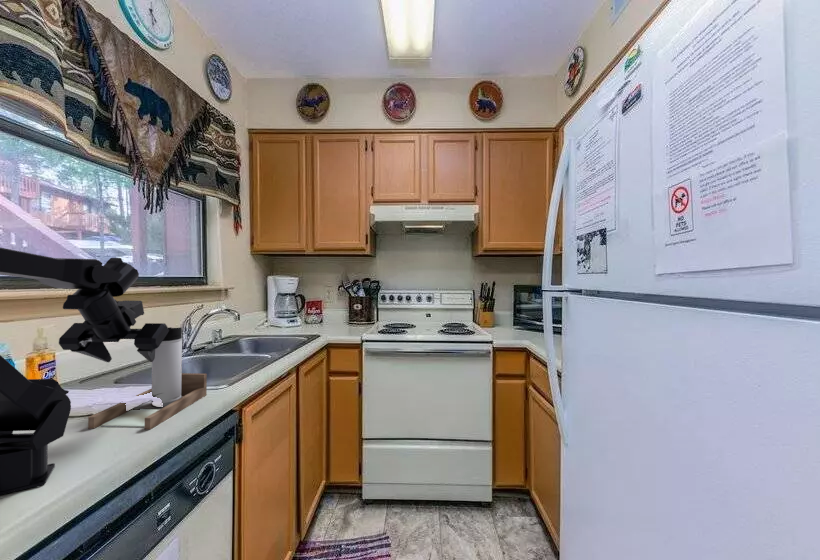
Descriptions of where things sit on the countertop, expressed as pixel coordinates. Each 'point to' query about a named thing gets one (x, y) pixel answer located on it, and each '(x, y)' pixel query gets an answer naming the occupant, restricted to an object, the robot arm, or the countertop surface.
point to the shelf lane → (149, 418)
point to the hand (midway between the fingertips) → (131, 360)
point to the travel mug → (168, 368)
